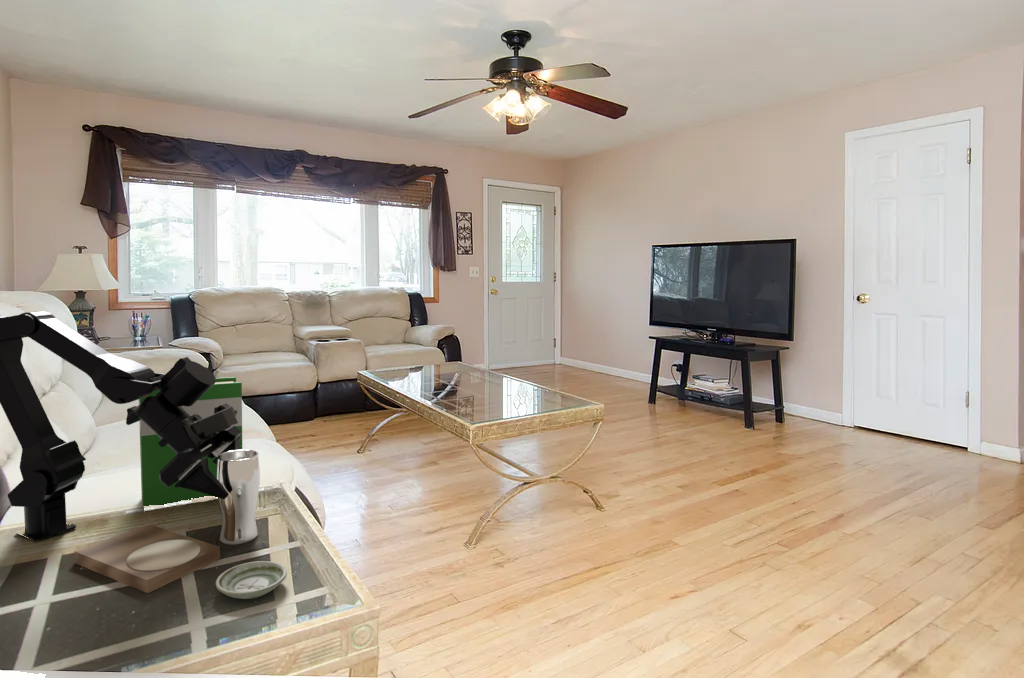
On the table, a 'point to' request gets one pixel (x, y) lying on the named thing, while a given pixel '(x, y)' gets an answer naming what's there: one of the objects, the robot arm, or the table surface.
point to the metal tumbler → (238, 494)
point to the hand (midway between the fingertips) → (238, 487)
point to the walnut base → (147, 557)
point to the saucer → (251, 579)
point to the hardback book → (161, 456)
